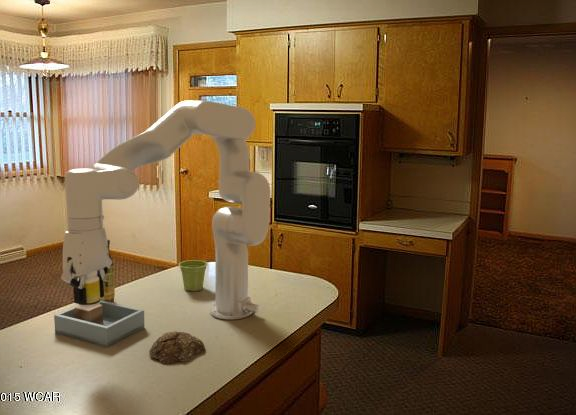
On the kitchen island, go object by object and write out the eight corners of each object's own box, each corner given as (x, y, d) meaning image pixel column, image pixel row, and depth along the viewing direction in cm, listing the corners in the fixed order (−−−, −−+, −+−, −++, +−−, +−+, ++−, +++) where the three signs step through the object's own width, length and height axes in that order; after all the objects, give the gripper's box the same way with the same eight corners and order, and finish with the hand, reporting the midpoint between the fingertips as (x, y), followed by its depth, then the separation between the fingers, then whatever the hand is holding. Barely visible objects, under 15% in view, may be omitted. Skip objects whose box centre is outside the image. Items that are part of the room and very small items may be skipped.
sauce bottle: (108, 307, 159) (105, 243, 155) (89, 305, 160) (86, 241, 156) (119, 300, 165) (117, 238, 161) (100, 298, 166) (98, 236, 163)
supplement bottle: (104, 302, 125) (103, 267, 123) (91, 309, 121) (89, 273, 119) (87, 299, 126) (86, 265, 125) (74, 306, 122) (72, 271, 120)
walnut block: (103, 322, 145) (102, 304, 144) (89, 328, 141) (88, 311, 140) (89, 319, 147) (88, 301, 146) (75, 325, 143) (74, 307, 142)
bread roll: (171, 338, 139) (171, 320, 138) (210, 348, 134) (210, 329, 133) (138, 358, 128) (137, 338, 127) (179, 369, 123) (179, 349, 122)
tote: (144, 327, 145) (144, 310, 144) (107, 347, 132) (106, 328, 132) (94, 315, 152) (94, 298, 151) (55, 333, 140) (54, 315, 139)
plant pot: (174, 287, 178) (174, 262, 177) (199, 282, 184) (199, 258, 182) (186, 295, 171) (186, 269, 169) (212, 290, 176) (212, 265, 175)
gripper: (100, 215, 129) (103, 286, 132) (42, 229, 114) (47, 309, 117) (124, 218, 126) (127, 291, 129) (68, 233, 111) (73, 315, 114)
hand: (89, 299), depth 123 cm, fingers closed on supplement bottle, 4 cm apart
